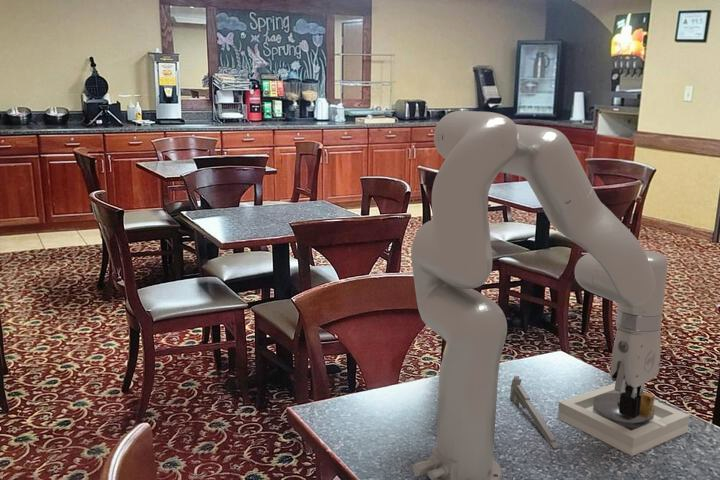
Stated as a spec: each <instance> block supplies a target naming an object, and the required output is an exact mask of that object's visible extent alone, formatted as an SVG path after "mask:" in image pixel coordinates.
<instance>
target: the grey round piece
mask: <svg viewBox="0 0 720 480" xmlns="http://www.w3.org/2000/svg"><path fill="white" fill-rule="evenodd" d="M640 396H641V405H640V414H639V416H637V417H636V418H631V417H629V416H626V415H623V414H621V413H619V405H620V393H605V394H600V395H598V396H596V397H595V398H594V403H593V413H595V414H597V415H599V416H601V417H604V418H606V419H608V420H610V421H612V422H614V423H616V424H618V425H620V426H622V427H625V428H627V429H629V430H631V431H632V430H634V429H637V428H639V427H642V426H644V425H647V424H649V423H652V422H650V420H652V419H653V418H654V408H653V406H654V400H655V395H654V394H651V393H649V392H645V391H643V393H642V395H640Z"/></svg>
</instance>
